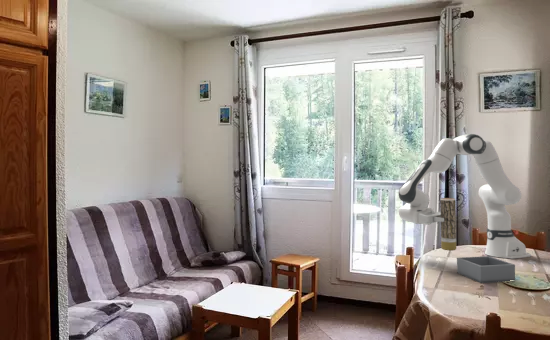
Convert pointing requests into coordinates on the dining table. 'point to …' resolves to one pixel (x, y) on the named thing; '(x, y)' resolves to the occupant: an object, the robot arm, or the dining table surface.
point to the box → (485, 269)
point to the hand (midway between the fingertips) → (449, 219)
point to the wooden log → (448, 224)
